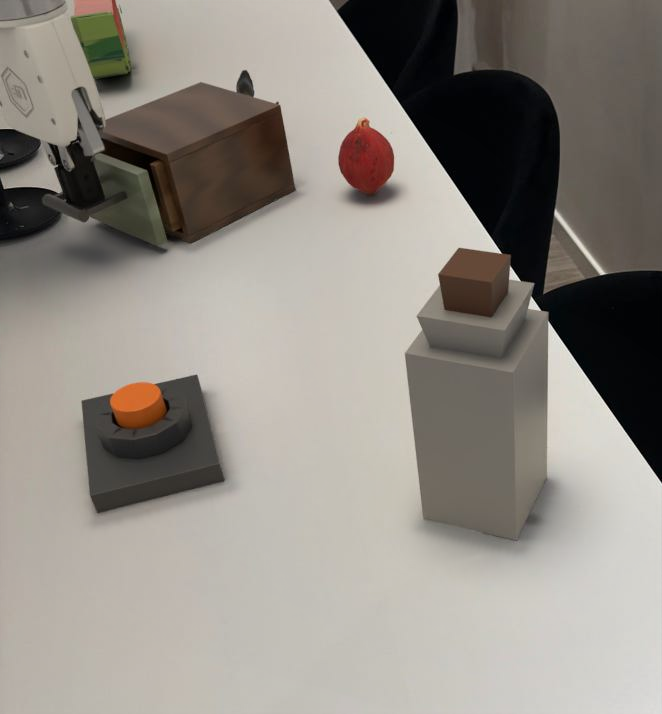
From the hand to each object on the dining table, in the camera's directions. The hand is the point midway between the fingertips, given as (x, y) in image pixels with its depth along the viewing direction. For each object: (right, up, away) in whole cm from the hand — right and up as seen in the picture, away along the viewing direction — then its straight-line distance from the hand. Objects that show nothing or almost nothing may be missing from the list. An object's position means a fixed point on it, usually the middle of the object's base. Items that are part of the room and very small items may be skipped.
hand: (87, 203), depth 93 cm
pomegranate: (+26, +4, +11) cm, 29 cm away
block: (+13, -25, -20) cm, 35 cm away
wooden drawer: (+4, +1, +7) cm, 8 cm away
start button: (+13, -23, -22) cm, 34 cm away
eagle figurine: (+10, +16, +24) cm, 31 cm away
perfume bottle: (+38, -29, -26) cm, 55 cm away
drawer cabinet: (+8, +4, +11) cm, 14 cm away
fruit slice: (-14, +34, +44) cm, 58 cm away
